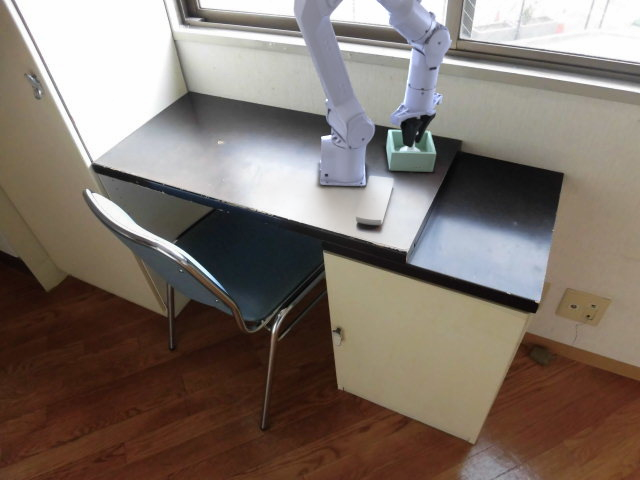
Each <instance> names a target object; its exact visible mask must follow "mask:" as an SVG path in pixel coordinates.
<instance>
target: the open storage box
mask: <svg viewBox="0 0 640 480" xmlns="http://www.w3.org/2000/svg"><path fill="white" fill-rule="evenodd" d="M387 130H388V131H387V138H386V146H385V148H386V155H387V163H388V171H393V172H394V171H395V172H421V173H422V172H423V173H425V172H426V173H432V172H433V171H434V166H435V162H436V159H437V158H436V157H437V151H436V148H435V144H434V140H433V136H432V132H431V130H425V132H424V134H423V137H422V139H421V141H420V143H416V142H415V147H416V148H418V149H419V150H420V152H413V151H399V150H400V149H401V148H402V147H405V146H406V145H404V144H403V137H402V131H401V129H387ZM414 167H415V168H414ZM416 167H417V168H416ZM419 167H420V168H419Z"/></svg>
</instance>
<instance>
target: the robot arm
mask: <svg viewBox="0 0 640 480" xmlns="http://www.w3.org/2000/svg"><path fill="white" fill-rule="evenodd" d="M343 1H344V0H294V2H293V14H294V18H295V21H296V23H297V26H298V29H299V31H300V34H301V37H302V38H303V41H304V44H305V46H306V49H307V51H308V53H309V57H310V60H311V62H312V64H313V67H314V69H315V72H316V75H317V77H318V79H319V82H320V85H321V87H322V89H323V92H324V96H325V97H326V99H325V101H324V105H325V107H326V114H325V118H326V122H327V123H328V125H329V126H330V127H331V129H330V130H331V131H330V135H324V136H321V140H320V141H321V142H320V161H318V162H319V163H318V169H319V171H320V180H319V181H320V182H319V183H320V185H321V186H339V187H340V186H343V187H344V186H345V187H366V186H367V179H366V165H365V164H366V163H365V162H366V152H367V146H368V144H369V143H370V142H371V140H372V139H373V137H374V135H375V132H376V125H375V123H374V122H373V120H372V119H371V118H369V117H368V116H367V114H366V110H365V109H364V107H363V106H362V104H361V103H360V101H359V99H358V98H357V97H356V93H355V90H354V87H353V85H352V82H351V77H350V76H349V73H348V70H347V67H346V63H345V61H344V58H343V55H342V51H341V48H340V45H339V42H338V39H337V37H336V34H335V31H334V27H333V25H332V24H333V23H332V21H331V16H332V14H333V13H334V12H335V10H336V9H337V8H338V7H339V5H340V4H341V3H342V2H343ZM373 1H374V2H375V3H376V4H377V5H379V6H380V7H381V8H382V9H384V10H385V11H386V14H385V15H386V16H385V17H386V23H388V25H390V27H391V28H393V30H395V31H396V32H397V33H398V34H400V36H401V37H403V38H404V39H405V40H406V41H407V44H408V45H409V46H412V47H411V53H410V59H409V66H408V73H407V78H406V79H407V80H406V87H405V93H404V99H403V102H401V103H400V106H399V107H398V108H397V109H396V110H395V111H394V112H392V113H391V115H390V120H389V122H390V124H391V125H393V126H396V127H400V130H401V131H402V137H403V144H404V145H406V146H408V147H409V148H411V147H412V146H413V144H414V141H415V142H416V143H420V141H421V139H422V137H423V134H424V132H425V131H427V128H428V127H429V125H430V124H431V122H432V121H433V120H434V119H435V117H436V115H437V113H436V111H437V110H436V109H435V107H436V106H439V105H441V104H442V101H443V97H444V95H443V94H440V93H438V92H436V89H437V82H438V77H439V71H440V67H441V65H442V63H443V61H444V57H445V55H446V53H447V52H448V51H449V49H450V48H451V46H452V43H453V40H452V38H451V35H450V30H449V28H448V27H447V26H446V25H444V24H442V23H440V22H439V21H437V20H436V18H437V15H436V13H434V12H433V11H430V10H429V11H428V9H426V7H424V6H423V5H422V4H421V3H422V2H423V0H373ZM416 116H420V119H417V117H416ZM417 132H418V134H417ZM416 134H417V135H416Z"/></svg>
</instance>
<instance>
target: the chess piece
mask: <svg viewBox="0 0 640 480" xmlns="http://www.w3.org/2000/svg"><path fill="white" fill-rule="evenodd" d="M416 117H417V119H420V116H416ZM417 134H418V132H417ZM417 134H416V135H417ZM399 151H413V152H420V150H419V149H418V148H416V147H415V141H414V144H413V146H412V147H411V148H409V147H408V146H405V147H402V148H401V149H400V150H399Z"/></svg>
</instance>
